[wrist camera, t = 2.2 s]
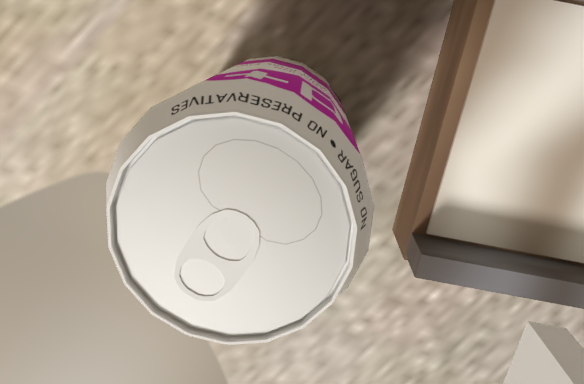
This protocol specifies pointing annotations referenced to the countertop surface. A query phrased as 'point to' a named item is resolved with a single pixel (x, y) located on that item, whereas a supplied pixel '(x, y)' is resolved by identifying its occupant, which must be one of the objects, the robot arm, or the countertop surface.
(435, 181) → the wooden tray
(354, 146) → the supplement can
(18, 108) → the countertop surface
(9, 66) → the countertop surface
